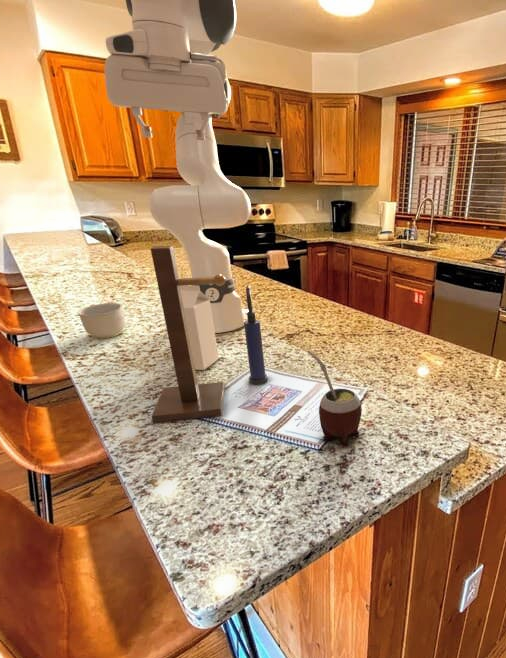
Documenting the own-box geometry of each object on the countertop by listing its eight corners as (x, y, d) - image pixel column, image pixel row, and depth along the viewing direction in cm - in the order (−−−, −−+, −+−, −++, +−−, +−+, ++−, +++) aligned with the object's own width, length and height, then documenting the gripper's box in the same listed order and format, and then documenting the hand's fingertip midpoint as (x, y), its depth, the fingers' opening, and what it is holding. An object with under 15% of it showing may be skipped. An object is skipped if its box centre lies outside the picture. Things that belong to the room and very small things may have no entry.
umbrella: (249, 375, 96) (238, 284, 87) (267, 374, 97) (257, 283, 88) (249, 387, 90) (237, 291, 82) (268, 386, 91) (258, 290, 82)
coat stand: (165, 394, 88) (132, 243, 75) (242, 386, 91) (222, 240, 79) (153, 423, 77) (112, 254, 65) (240, 413, 80) (218, 249, 68)
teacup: (130, 336, 121) (124, 308, 118) (87, 344, 115) (78, 315, 112) (123, 324, 131) (117, 298, 128) (83, 330, 126) (75, 304, 122)
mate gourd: (366, 444, 71) (367, 361, 64) (320, 452, 69) (316, 367, 62) (354, 422, 77) (353, 344, 71) (311, 428, 75) (306, 349, 69)
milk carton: (204, 371, 98) (190, 289, 91) (176, 368, 100) (160, 288, 92) (219, 359, 105) (207, 282, 97) (193, 357, 106) (179, 281, 98)
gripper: (224, 58, 80) (231, 142, 86) (103, 45, 75) (119, 135, 81) (225, 52, 75) (231, 142, 81) (94, 37, 69) (112, 134, 76)
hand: (174, 138), depth 81 cm, fingers open, 8 cm apart
